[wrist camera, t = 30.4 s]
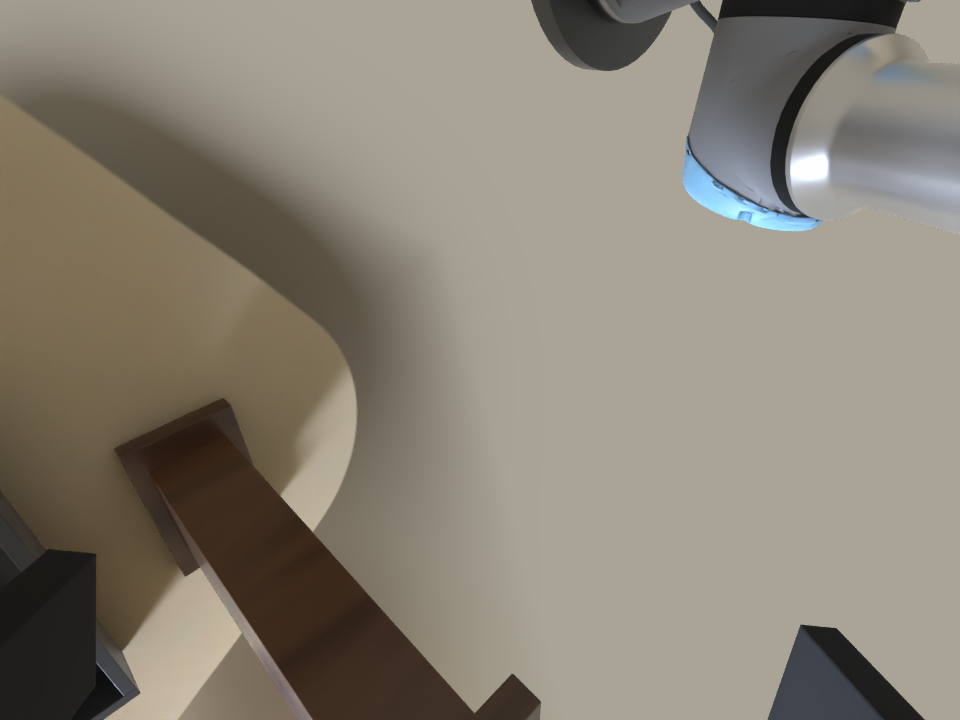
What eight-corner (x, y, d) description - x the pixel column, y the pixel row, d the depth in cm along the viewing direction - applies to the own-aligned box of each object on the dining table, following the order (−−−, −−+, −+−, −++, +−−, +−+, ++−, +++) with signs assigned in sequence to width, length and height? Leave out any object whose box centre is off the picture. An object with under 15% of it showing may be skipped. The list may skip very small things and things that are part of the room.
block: (102, 438, 34) (377, 891, 17) (223, 384, 38) (541, 701, 21) (180, 577, 42) (420, 980, 25) (272, 519, 46) (532, 829, 29)
